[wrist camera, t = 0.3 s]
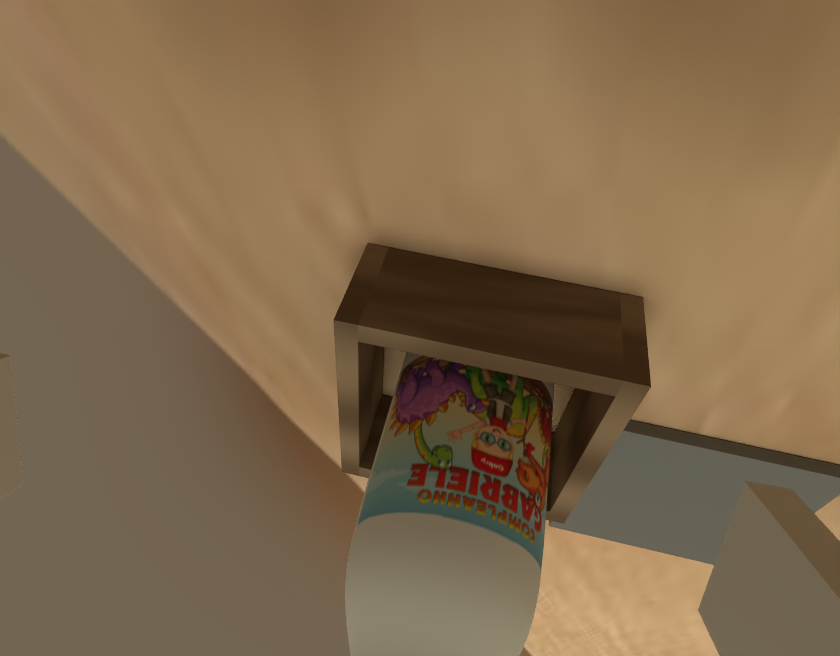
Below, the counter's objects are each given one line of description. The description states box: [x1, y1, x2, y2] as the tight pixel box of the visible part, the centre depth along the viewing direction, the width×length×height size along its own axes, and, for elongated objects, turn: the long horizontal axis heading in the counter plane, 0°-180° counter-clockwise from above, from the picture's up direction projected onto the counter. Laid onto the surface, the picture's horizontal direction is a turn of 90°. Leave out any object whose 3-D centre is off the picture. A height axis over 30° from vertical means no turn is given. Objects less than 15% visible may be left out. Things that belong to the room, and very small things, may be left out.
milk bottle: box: [345, 352, 554, 656], centre depth 23 cm, size 8×8×20 cm
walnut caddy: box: [334, 244, 651, 524], centre depth 28 cm, size 12×12×5 cm
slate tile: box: [549, 420, 840, 565], centre depth 35 cm, size 13×13×1 cm
